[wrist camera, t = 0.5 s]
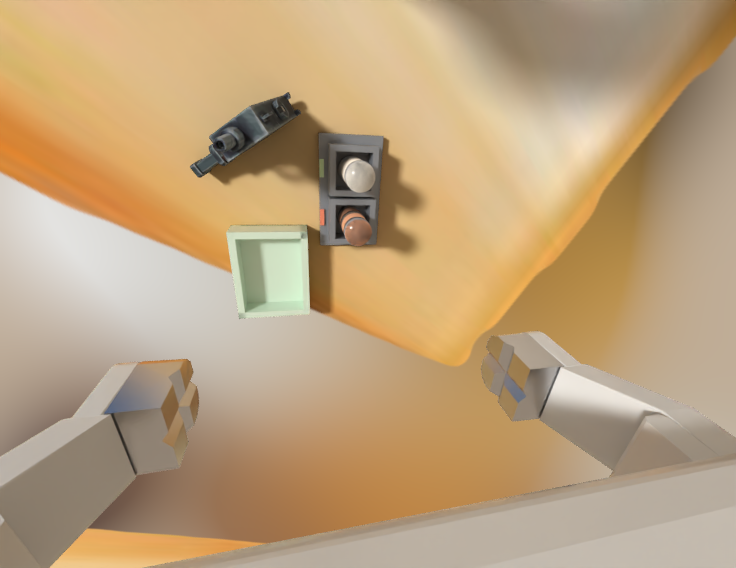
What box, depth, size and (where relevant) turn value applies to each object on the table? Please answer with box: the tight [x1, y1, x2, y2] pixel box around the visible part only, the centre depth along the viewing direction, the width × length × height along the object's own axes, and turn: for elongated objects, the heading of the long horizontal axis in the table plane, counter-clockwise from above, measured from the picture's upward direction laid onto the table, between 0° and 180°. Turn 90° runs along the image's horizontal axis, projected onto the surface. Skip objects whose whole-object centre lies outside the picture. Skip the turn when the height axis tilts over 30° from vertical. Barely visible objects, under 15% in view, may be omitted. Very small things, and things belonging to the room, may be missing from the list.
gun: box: [190, 92, 301, 178], centre depth 36 cm, size 3×17×15 cm
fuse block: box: [318, 133, 383, 245], centre depth 46 cm, size 16×9×4 cm, turn 177°
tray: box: [226, 225, 310, 319], centre depth 50 cm, size 14×11×4 cm
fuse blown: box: [338, 205, 372, 246], centre depth 45 cm, size 4×4×8 cm
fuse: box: [338, 155, 375, 193], centre depth 42 cm, size 4×4×8 cm
